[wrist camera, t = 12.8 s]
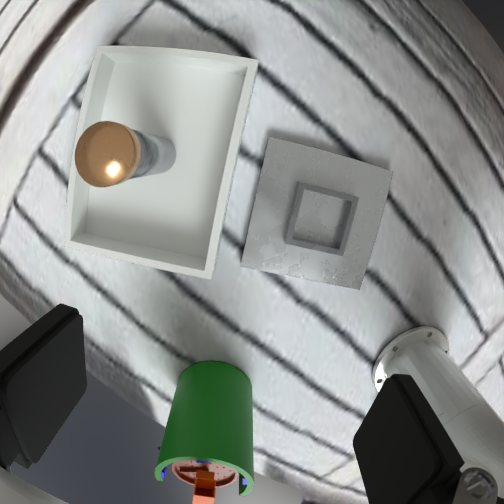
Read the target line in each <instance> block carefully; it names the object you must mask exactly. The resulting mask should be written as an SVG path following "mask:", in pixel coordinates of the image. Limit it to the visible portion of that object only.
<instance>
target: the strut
mask: <svg viewBox="0 0 504 504" xmlns="http://www.w3.org/2000/svg"><path fill="white" fill-rule="evenodd" d="M175 160H176V149H175V146H174V144H173V143H172V142H171V141H170V140H169V139H167V138H165V137H162V136H158V135H154V134H150V133H146V132H142V131H137V130H133V129H131V128H129V127H128V126H126V125H123V124H120V123H116V122H112V121H100V122H97V123H95V124H93V125H91V126H90V127H88V128H87V129H86V130H85V131H84V132H83V133H82V135H81V136H80V138H79V140H78V142H77V145H76V149H75V165H76V168H77V171H78V173H79V175H80V176H81V178H82V179H83V180H84V181H85V182H86V183H88V184H90V185H92V186H94V187H100V188H103V187H109V186H113V185H118V184H121V183H123V182H125V181H126V180H128V179H134V178H139V177H144V176H150V175H155V174H161V173H164V172H166V171H168V170H169V169H170V168H171V167H172V166H173V164H174V162H175Z"/></svg>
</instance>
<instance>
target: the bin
mask: <svg viewBox="0 0 504 504" xmlns="http://www.w3.org/2000/svg"><path fill="white" fill-rule="evenodd" d="M258 61H259V60H255V59H250V58H244V57H239V56H233V55H227V54H220V53H213V52H205V51H197V50H188V49H178V48H165V47H149V46H97V50H96V53H95V56H94V59H93V63H92V66H91V70H90V74H89V77H88V81H87V85H86V89H85V93H84V97H83V102H82V106H81V111H80V115H79V120H78V125H77V131H76V136H75V142H74V148H73V154H72V161H71V169H70V176H69V185H68V194H67V205H66V219H65V237H64V247H68V248H72V249H76V250H80V251H84V252H88V253H92V254H96V255H101V256H105V257H109V258H113V259H118V260H122V261H126V262H131V263H135V264H139V265H144V266H148V267H153V268H157V269H162V270H166V271H171V272H175V273H180V274H185V275H189V276H194V277H199V278H204V279H209V280H211V279H212V276H213V272H214V269H215V266H216V260H217V255H218V250H219V245H220V240H221V235H222V230H223V225H224V220H225V215H226V210H227V205H228V200H229V195H230V191H231V186H232V181H233V177H234V172H235V167H236V163H237V158H238V153H239V149H240V144H241V140H242V135H243V131H244V127H245V122H246V118H247V113H248V109H249V105H250V101H251V96H252V92H253V88H254V84H255V80H256V75H257V70H258ZM100 121H112V122H116V123H120V124H123V125H126V126H128V127H129V128H131V129H133V130H137V131H142V132H146V133H150V134H154V135H158V136H162V137H165V138H167V139H169V140H170V141H171V142H172V143H173V144H174V146H175V149H176V160H175V162H174V164H173V166H172V167H171V168H170V169H169V170H168V171H166V172H164V173H161V174H155V175H150V176H144V177H139V178H134V179H128V180H126V181H125V182H123V183H121V184H118V185H113V186H109V187H103V188H100V187H94V186H92V185H90V184H88V183H86V182H85V181H84V180H83V179H82V178H81V176H80V175H79V173H78V171H77V168H76V165H75V149H76V145H77V142H78V140H79V138H80V136H81V135H82V133H83V132H84V131H85V130H86V129H87V128H88V127H90V126H91V125H93V124H95V123H97V122H100Z"/></svg>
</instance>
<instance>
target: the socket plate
mask: <svg viewBox="0 0 504 504" xmlns="http://www.w3.org/2000/svg"><path fill="white" fill-rule="evenodd" d="M392 174H393V171H390V170H387V169H384V168H381V167H378V166H375V165H371V164H368V163H365V162H362V161H359V160H355V159H352V158H349V157H345V156H342V155H339V154H335V153H332V152H328V151H324V150H321V149H317V148H313V147H310V146H306V145H302V144H298V143H294V142H290V141H286V140H281V139H277V138H273V137H269V139H268V143H267V147H266V152H265V156H264V161H263V165H262V170H261V174H260V179H259V183H258V188H257V192H256V197H255V201H254V206H253V210H252V215H251V219H250V224H249V228H248V233H247V237H246V242H245V247H244V251H243V256H242V260H241V267H246V268H251V269H256V270H261V271H266V272H271V273H276V274H281V275H286V276H291V277H296V278H301V279H306V280H312V281H317V282H322V283H327V284H332V285H338V286H343V287H348V288H353V289H360V287H361V284H362V281H363V278H364V274H365V271H366V268H367V265H368V262H369V259H370V256H371V252H372V249H373V246H374V242H375V239H376V236H377V232H378V229H379V225H380V221H381V218H382V214H383V210H384V207H385V203H386V199H387V195H388V191H389V187H390V183H391V179H392Z"/></svg>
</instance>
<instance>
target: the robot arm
mask: <svg viewBox="0 0 504 504" xmlns="http://www.w3.org/2000/svg"><path fill="white" fill-rule="evenodd" d="M372 380H373V384H374V386H375V388H376V390H377V392H378V395H377V397H376V399H375V400H374V402H373V404H372V406H371V408H370V410H369V411H368V413H367V415H366V417H365V419H364V420H363V422H362V424H361V426H360V427H359V429H358V431H357V432H356V434H355V436H354V439H353V447H354V451H355V454H356V458H357V461H358V465H359V468H360V472H361V475H362V479H363V483H364V486H365V490H366V494H367V497H368V501H369V504H504V422H503V421H502V419H501V418H500V417H499V416H498V415H497V413H496V412H495V411H494V410H493V408H492V407H491V406H490V405H489V404H488V402H487V401H486V400H485V399H484V397H483V396H482V395H481V394H480V393H479V391H478V390H477V389H476V388H475V387H474V385H473V384H472V383H471V382H470V381H469V379H468V378H467V377H466V376H465V375H464V374H463V372H462V371H461V370H460V369H459V368H458V367H457V365H456V364H455V363H454V362H453V361H452V360H451V359H450V357H449V344H448V341H447V338H446V337H445V336H444V335H443V334H442V333H441V332H440V331H439V330H438V329H436V328H434V327H429V326H423V327H417V328H413V329H410V330H408V331H406V332H404V333H402V334H400V335H399V336H397V337H396V338H395V339H394V340H392V341H391V342H390V343H389V344H388V345H387V346H386V347H385V348H384V349H383V351H382V352H381V353H380V355H379V357H378V358H377V360H376V362H375V365H374V368H373V373H372ZM86 387H87V378H86V367H85V353H84V334H83V317H82V316H81V315H79V312H78V310H77V309H76V308H73V307H70V306H67V305H64V304H59V305H57V306H56V307H55V308H53V309H52V310H51V311H49V312H48V313H47V314H45V315H44V316H43V317H42V318H40V319H39V320H38V321H36V322H35V323H34V324H33V325H31V326H30V327H29V328H28V329H26V330H25V331H24V332H23V333H21V334H20V335H19V336H18V337H16V339H14V340H13V341H12V342H10V343H9V344H8V345H7V346H5V347H4V348H3V349H2V350H1V351H0V504H68V503H66V502H64V501H62V500H60V499H58V498H55V497H54V496H52V495H50V494H48V493H46V492H44V491H42V490H40V489H38V488H36V487H34V486H32V485H30V484H29V483H27V482H25V481H23V480H22V479H20V478H18V477H16V476H15V475H13V474H11V469H10V465H11V464H12V462H13V461H15V462H17V463H18V464H20V465H22V466H23V467H25V468H27V469H28V468H29V467H30V465H31V464H32V462H33V463H37V462H38V461H39V460H40V457H41V456H42V455H43V453H44V452H45V450H46V449H47V447H48V446H49V444H50V443H51V441H52V440H53V438H54V437H55V435H56V434H57V432H58V430H59V429H60V428H61V426H62V425H63V423H64V422H65V420H66V419H67V417H68V416H69V414H70V413H71V412H72V410H73V409H74V407H75V406H76V404H77V403H78V402H79V400H80V398H81V397H82V396H83V394H84V393H85V391H86Z"/></svg>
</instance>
